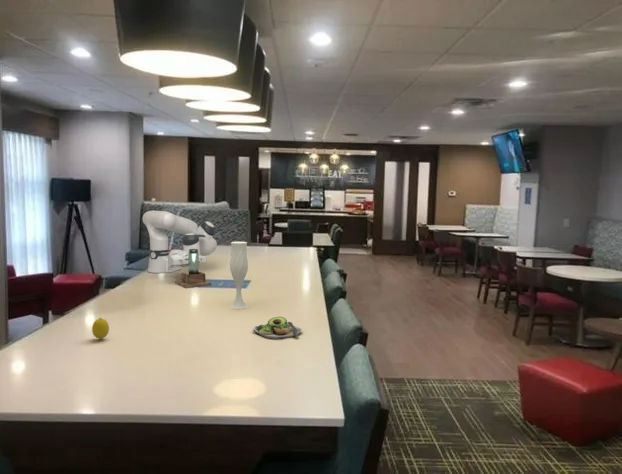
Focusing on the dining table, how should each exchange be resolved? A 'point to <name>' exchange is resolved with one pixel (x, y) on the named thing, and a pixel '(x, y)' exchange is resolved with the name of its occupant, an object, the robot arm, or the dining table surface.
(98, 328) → the lemon
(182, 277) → the u rest
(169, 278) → the dining table surface
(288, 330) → the salad plate
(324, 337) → the dining table surface
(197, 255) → the flask
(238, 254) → the vase
